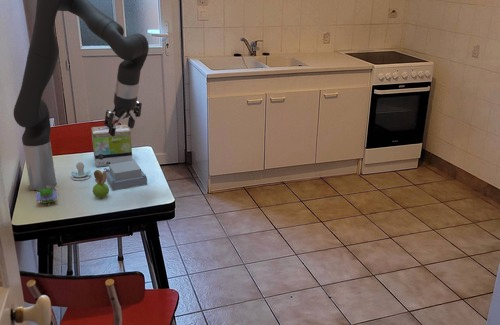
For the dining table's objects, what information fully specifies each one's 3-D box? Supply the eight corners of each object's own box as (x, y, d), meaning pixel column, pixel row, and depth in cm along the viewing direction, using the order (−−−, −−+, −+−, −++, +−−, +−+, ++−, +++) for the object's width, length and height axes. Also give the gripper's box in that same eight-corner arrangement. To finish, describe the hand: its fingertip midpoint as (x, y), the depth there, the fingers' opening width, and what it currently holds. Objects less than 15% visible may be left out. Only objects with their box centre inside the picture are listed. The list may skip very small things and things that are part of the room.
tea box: (96, 168, 200) (92, 133, 195) (94, 159, 209) (90, 126, 204) (133, 163, 205) (130, 130, 200) (129, 155, 214) (127, 123, 209)
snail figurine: (102, 202, 171) (99, 170, 166) (90, 198, 174) (86, 166, 169) (114, 196, 175) (111, 165, 171) (102, 192, 178) (98, 162, 174)
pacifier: (89, 181, 189) (91, 174, 194) (88, 166, 186) (90, 160, 192) (70, 182, 187) (72, 175, 193) (68, 167, 185) (70, 161, 190)
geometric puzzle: (57, 203, 165) (55, 180, 167) (36, 205, 163) (33, 183, 165) (59, 207, 172) (56, 185, 174) (38, 210, 169) (36, 188, 171)
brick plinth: (112, 190, 180) (111, 175, 178) (105, 177, 191) (104, 163, 189) (147, 184, 185) (146, 169, 183) (138, 172, 196) (137, 158, 194)
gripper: (134, 81, 168) (129, 119, 178) (101, 92, 158) (97, 132, 167) (150, 91, 165) (143, 130, 175) (117, 103, 155) (112, 143, 165)
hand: (121, 131), depth 171 cm, fingers open, 8 cm apart
